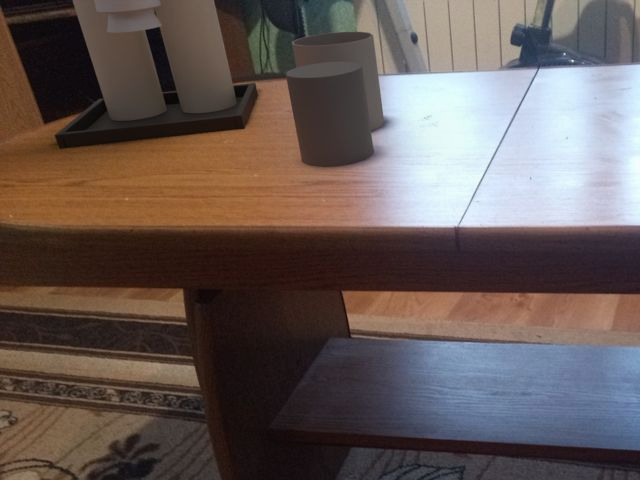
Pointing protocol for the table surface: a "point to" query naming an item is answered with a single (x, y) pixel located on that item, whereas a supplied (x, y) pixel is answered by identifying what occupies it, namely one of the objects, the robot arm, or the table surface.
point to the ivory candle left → (121, 66)
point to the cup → (346, 50)
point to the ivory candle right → (196, 55)
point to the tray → (155, 121)
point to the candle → (129, 14)
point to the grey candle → (330, 113)
